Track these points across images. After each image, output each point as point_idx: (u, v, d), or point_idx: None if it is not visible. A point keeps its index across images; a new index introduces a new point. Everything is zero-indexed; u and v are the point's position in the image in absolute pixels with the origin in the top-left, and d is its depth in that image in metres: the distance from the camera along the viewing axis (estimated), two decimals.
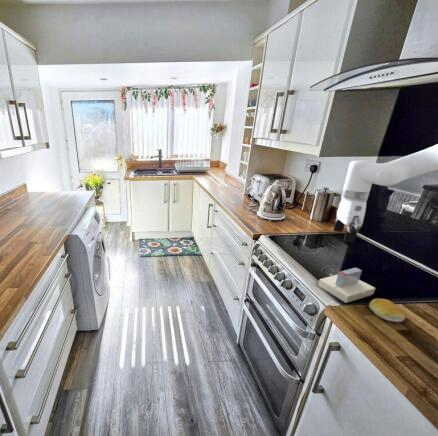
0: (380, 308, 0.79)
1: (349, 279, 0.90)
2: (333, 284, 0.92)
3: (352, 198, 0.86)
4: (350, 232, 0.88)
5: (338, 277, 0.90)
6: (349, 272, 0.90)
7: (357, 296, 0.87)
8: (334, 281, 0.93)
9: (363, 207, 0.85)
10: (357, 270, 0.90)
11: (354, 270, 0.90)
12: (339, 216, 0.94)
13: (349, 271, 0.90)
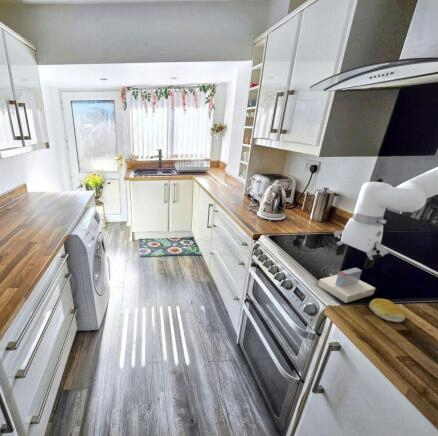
0: (380, 308, 0.79)
1: (349, 279, 0.90)
2: (333, 284, 0.92)
3: (372, 224, 0.79)
4: (373, 259, 0.81)
5: (338, 277, 0.90)
6: (349, 272, 0.90)
7: (357, 296, 0.87)
8: (334, 281, 0.93)
9: (382, 231, 0.80)
10: (357, 270, 0.90)
11: (354, 270, 0.90)
12: (349, 241, 0.87)
13: (349, 271, 0.90)
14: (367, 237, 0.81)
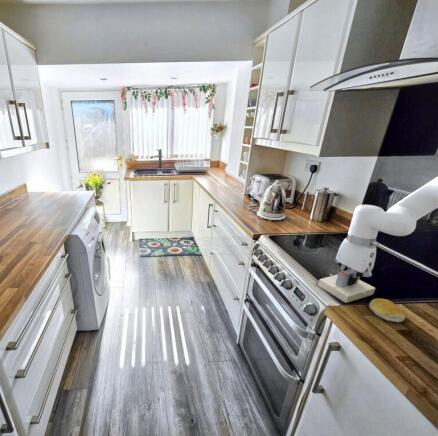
0: (380, 308, 0.79)
1: None
2: (333, 284, 0.92)
3: (366, 245, 0.82)
4: (356, 277, 0.88)
5: (338, 277, 0.90)
6: (349, 272, 0.90)
7: (357, 296, 0.87)
8: (334, 281, 0.93)
9: (375, 253, 0.83)
10: None
11: None
12: (344, 261, 0.90)
13: (349, 271, 0.90)
14: (361, 258, 0.84)
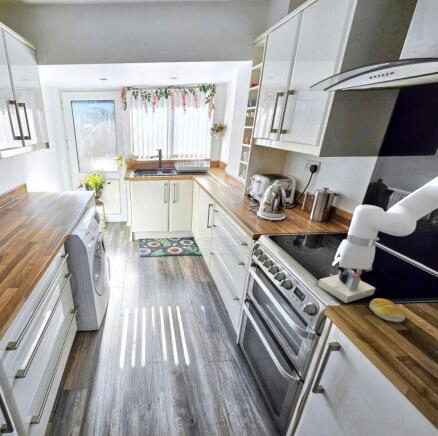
0: (380, 308, 0.79)
1: None
2: (333, 284, 0.92)
3: (373, 244, 0.83)
4: None
5: (353, 282, 0.87)
6: (352, 272, 0.89)
7: (357, 296, 0.87)
8: (334, 281, 0.93)
9: None
10: None
11: None
12: (351, 265, 0.87)
13: (350, 271, 0.90)
14: (370, 256, 0.85)
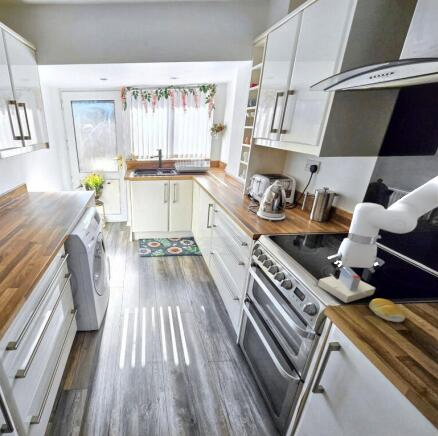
0: (380, 308, 0.79)
1: None
2: (333, 284, 0.92)
3: (375, 242, 0.83)
4: None
5: (353, 282, 0.87)
6: (352, 272, 0.89)
7: (357, 296, 0.87)
8: (334, 281, 0.93)
9: None
10: (347, 267, 0.93)
11: (348, 268, 0.92)
12: (353, 263, 0.86)
13: (350, 271, 0.90)
14: (372, 255, 0.84)
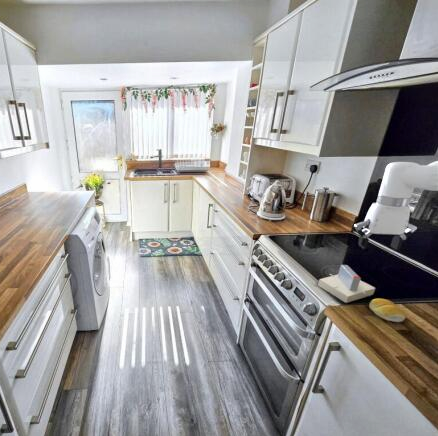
0: (380, 308, 0.79)
1: None
2: (333, 284, 0.92)
3: (408, 204, 0.76)
4: None
5: (353, 282, 0.87)
6: (352, 272, 0.89)
7: (357, 296, 0.87)
8: (334, 281, 0.93)
9: None
10: (347, 267, 0.93)
11: (348, 268, 0.92)
12: (383, 230, 0.80)
13: (350, 271, 0.90)
14: (404, 219, 0.77)
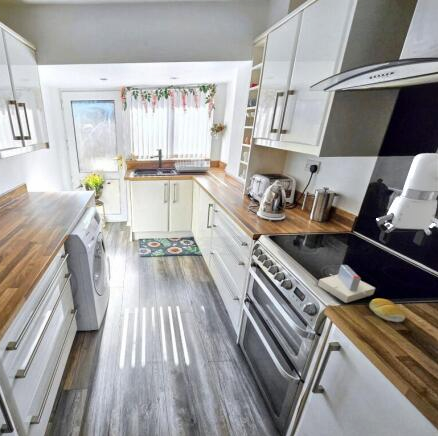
0: (380, 308, 0.79)
1: None
2: (333, 284, 0.92)
3: None
4: None
5: (353, 282, 0.87)
6: (352, 272, 0.89)
7: (357, 296, 0.87)
8: (334, 281, 0.93)
9: None
10: (347, 267, 0.93)
11: (348, 268, 0.92)
12: (407, 224, 0.77)
13: (350, 271, 0.90)
14: (430, 213, 0.74)
